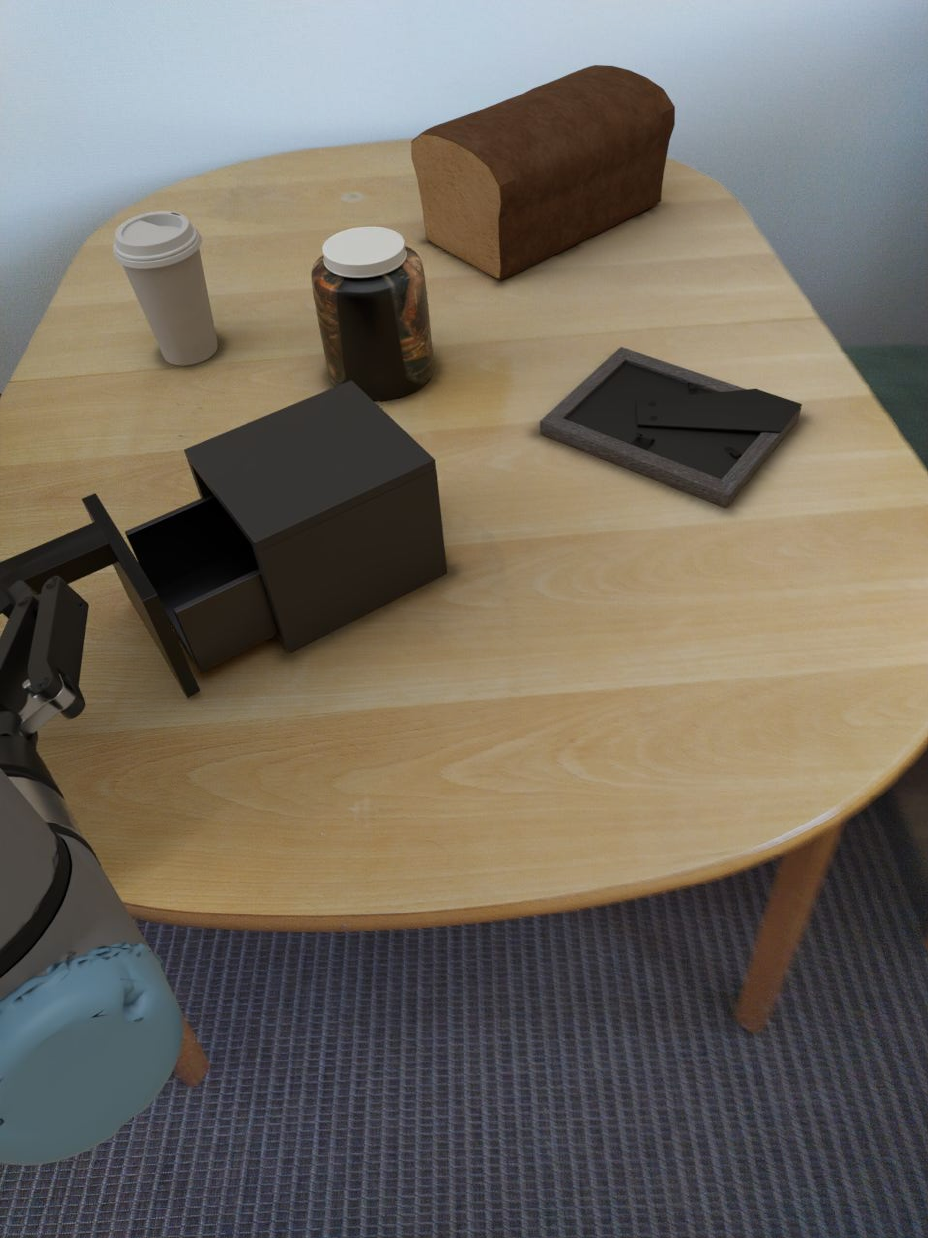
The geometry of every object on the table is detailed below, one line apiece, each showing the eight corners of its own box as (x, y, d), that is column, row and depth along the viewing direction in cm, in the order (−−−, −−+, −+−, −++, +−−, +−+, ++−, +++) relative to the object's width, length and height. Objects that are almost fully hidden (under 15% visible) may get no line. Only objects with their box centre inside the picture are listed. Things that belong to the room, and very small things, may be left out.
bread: (669, 207, 129) (682, 78, 117) (504, 288, 118) (500, 154, 106) (577, 168, 139) (580, 46, 127) (416, 239, 127) (403, 112, 115)
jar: (351, 414, 102) (328, 285, 91) (315, 361, 109) (290, 236, 98) (450, 382, 105) (439, 253, 94) (409, 332, 112) (394, 207, 101)
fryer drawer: (13, 787, 72) (-71, 680, 62) (-32, 670, 80) (-112, 559, 70) (358, 611, 82) (333, 495, 72) (287, 523, 90) (255, 408, 80)
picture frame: (798, 420, 97) (619, 358, 106) (802, 403, 95) (621, 343, 104) (726, 508, 89) (539, 433, 98) (729, 491, 87) (539, 417, 96)
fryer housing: (288, 654, 80) (254, 543, 70) (222, 560, 88) (183, 449, 78) (447, 573, 85) (435, 459, 75) (371, 491, 93) (351, 379, 84)
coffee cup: (244, 353, 111) (211, 229, 100) (168, 383, 108) (125, 259, 97) (211, 319, 117) (176, 198, 106) (138, 347, 114) (94, 225, 102)
